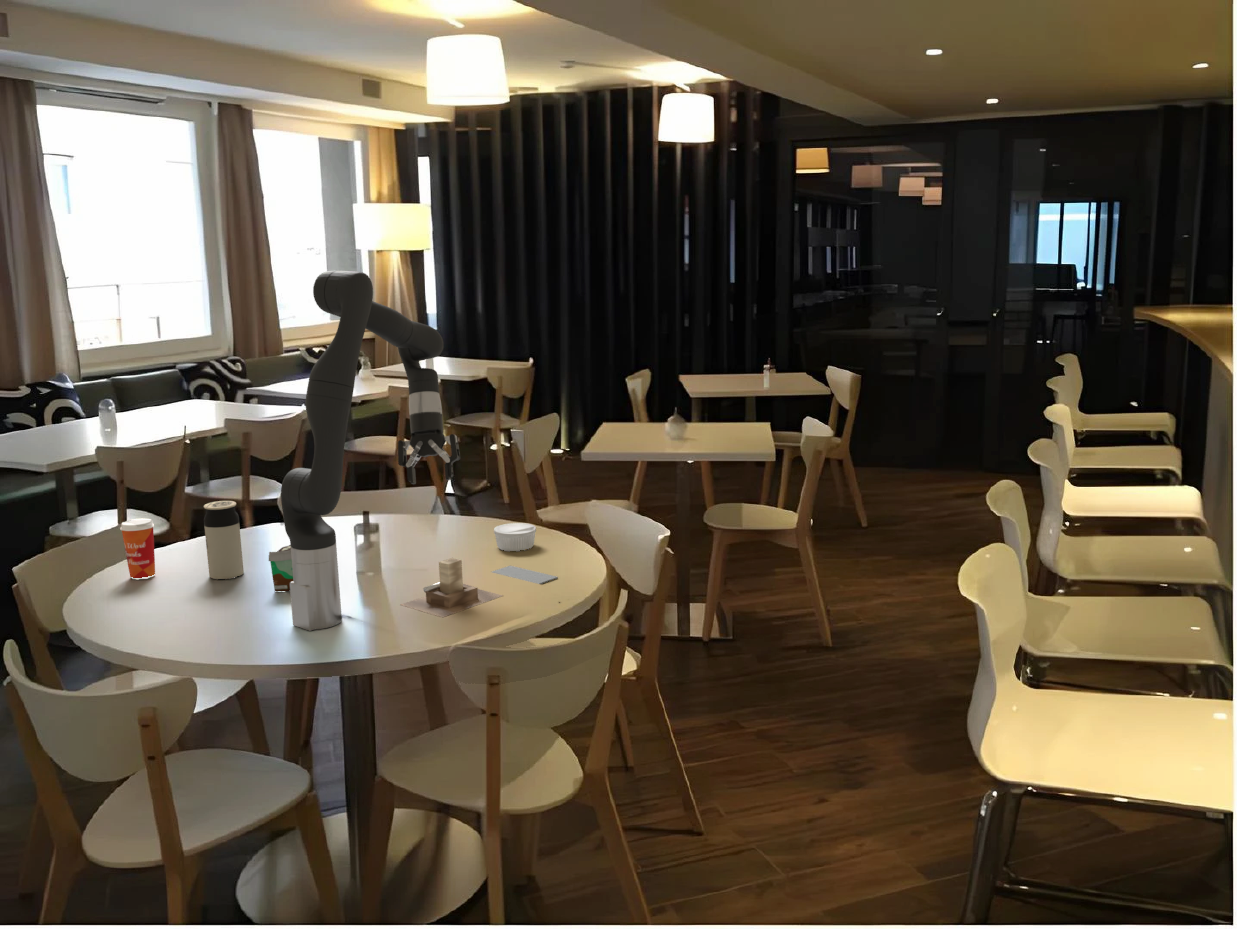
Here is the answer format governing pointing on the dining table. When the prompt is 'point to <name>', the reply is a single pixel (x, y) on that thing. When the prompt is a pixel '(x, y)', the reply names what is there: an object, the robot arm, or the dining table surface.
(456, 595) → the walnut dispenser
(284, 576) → the food container
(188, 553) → the dining table surface
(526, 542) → the ramekin
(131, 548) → the paper cup
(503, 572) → the rubber mat
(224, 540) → the travel mug
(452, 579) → the tan wooden block
